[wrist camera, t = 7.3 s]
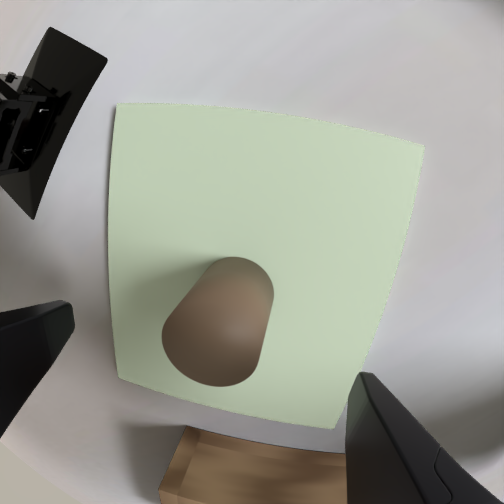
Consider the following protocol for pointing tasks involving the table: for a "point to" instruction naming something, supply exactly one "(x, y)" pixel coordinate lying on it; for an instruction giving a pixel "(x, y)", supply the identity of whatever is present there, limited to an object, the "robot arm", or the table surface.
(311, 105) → the table surface
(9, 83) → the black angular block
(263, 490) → the walnut box
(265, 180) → the lid
